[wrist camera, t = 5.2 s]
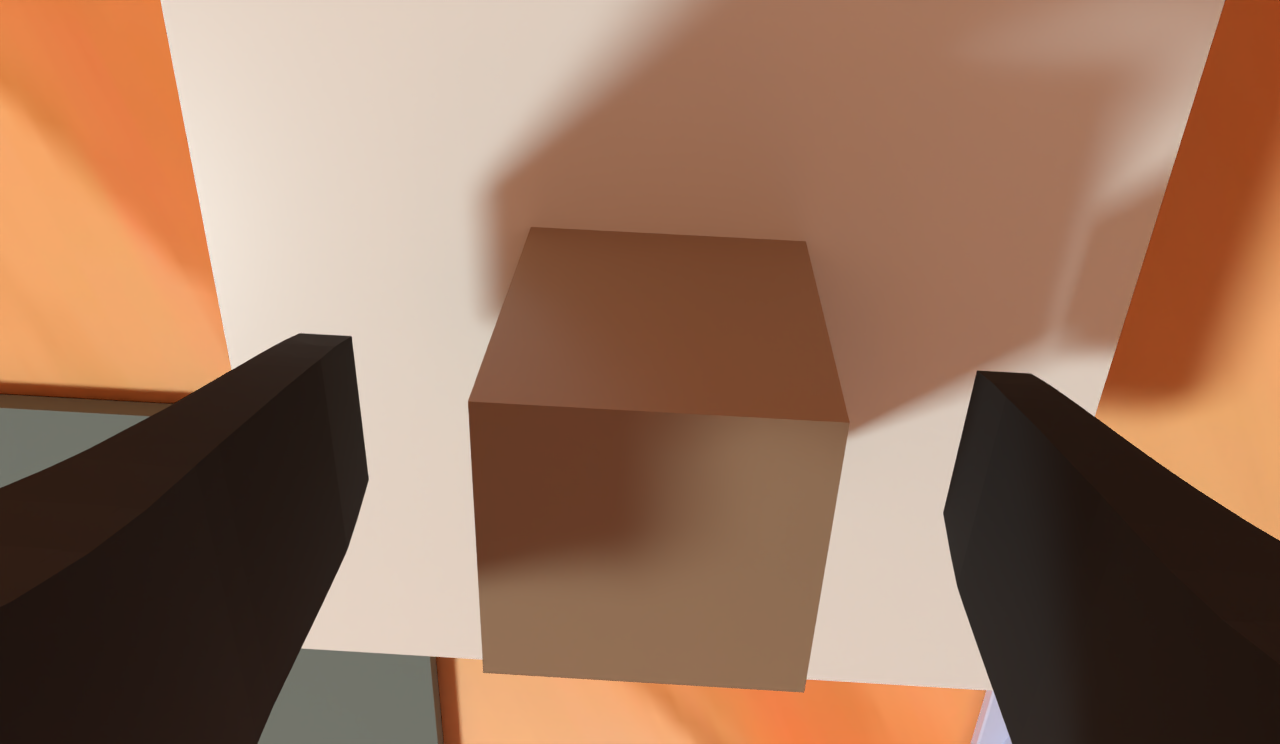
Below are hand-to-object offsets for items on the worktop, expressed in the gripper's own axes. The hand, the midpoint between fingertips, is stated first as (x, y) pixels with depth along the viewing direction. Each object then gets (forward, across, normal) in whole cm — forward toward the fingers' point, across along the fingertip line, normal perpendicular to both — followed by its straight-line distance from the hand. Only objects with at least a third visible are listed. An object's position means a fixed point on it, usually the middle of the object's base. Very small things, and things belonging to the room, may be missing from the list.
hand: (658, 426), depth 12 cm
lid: (+3, 0, 0) cm, 3 cm away
